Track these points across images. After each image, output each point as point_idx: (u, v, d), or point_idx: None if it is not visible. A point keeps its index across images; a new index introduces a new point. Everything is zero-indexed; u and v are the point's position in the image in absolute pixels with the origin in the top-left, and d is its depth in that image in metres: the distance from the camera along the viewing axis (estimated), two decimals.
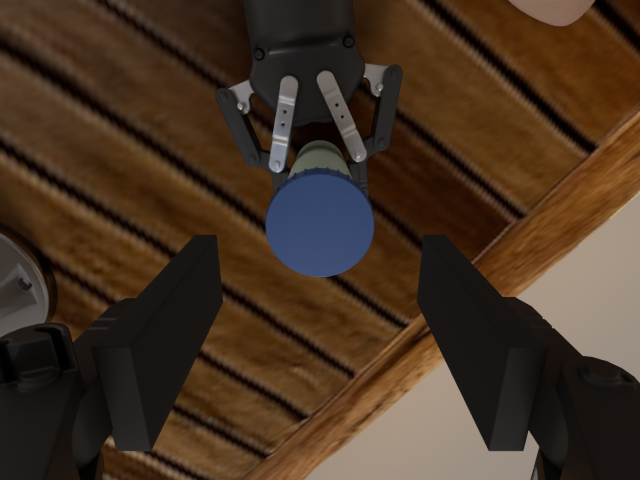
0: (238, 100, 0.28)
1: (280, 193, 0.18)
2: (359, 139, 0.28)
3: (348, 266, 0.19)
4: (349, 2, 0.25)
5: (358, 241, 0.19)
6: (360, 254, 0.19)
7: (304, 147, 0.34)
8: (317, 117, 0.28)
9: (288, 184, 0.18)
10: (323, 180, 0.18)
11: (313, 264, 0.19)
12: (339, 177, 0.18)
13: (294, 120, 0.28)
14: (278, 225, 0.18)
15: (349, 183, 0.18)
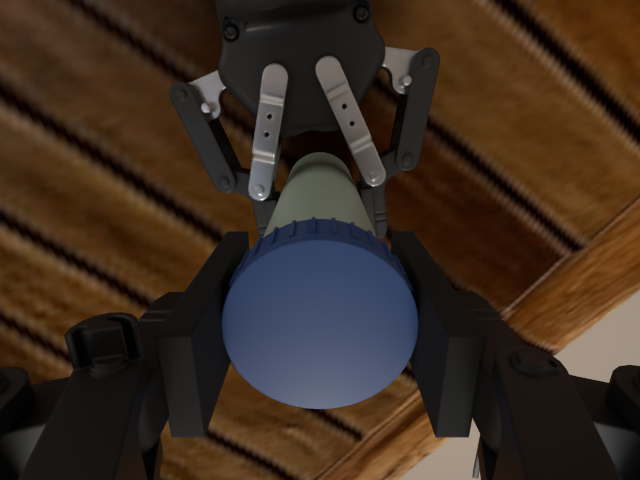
0: (203, 100, 0.20)
1: (246, 273, 0.10)
2: (376, 155, 0.20)
3: (370, 392, 0.11)
4: None
5: (389, 353, 0.10)
6: (392, 374, 0.11)
7: (299, 162, 0.26)
8: (316, 124, 0.19)
9: (260, 257, 0.09)
10: (326, 250, 0.09)
11: (308, 390, 0.11)
12: (356, 244, 0.09)
13: (283, 128, 0.20)
14: (244, 328, 0.10)
15: (375, 256, 0.09)
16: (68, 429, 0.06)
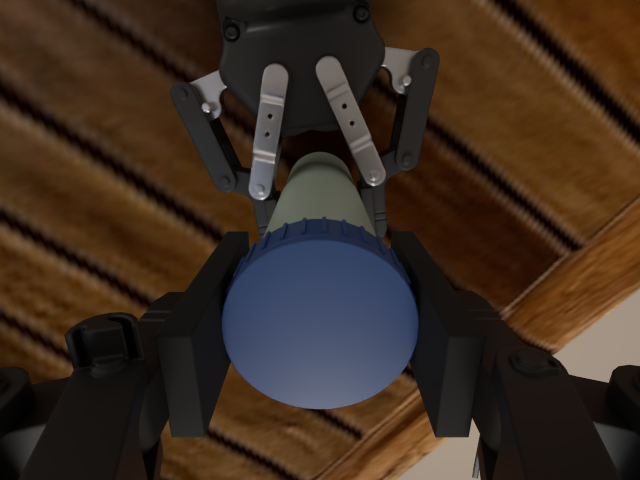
0: (204, 99, 0.20)
1: (259, 387, 0.11)
2: (375, 154, 0.20)
3: (401, 283, 0.10)
4: None
5: (348, 267, 0.09)
6: (376, 262, 0.09)
7: (299, 161, 0.26)
8: (316, 123, 0.20)
9: (243, 375, 0.11)
10: (232, 326, 0.10)
11: (391, 343, 0.10)
12: (226, 299, 0.10)
13: (284, 128, 0.20)
14: (315, 392, 0.11)
15: (234, 285, 0.10)
16: (68, 429, 0.06)
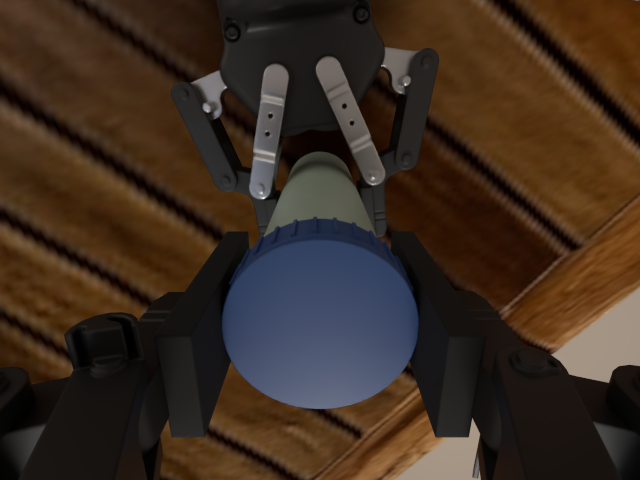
0: (205, 99, 0.20)
1: (385, 384, 0.11)
2: (375, 154, 0.20)
3: (263, 260, 0.09)
4: None
5: (247, 308, 0.10)
6: (241, 284, 0.10)
7: (299, 161, 0.26)
8: (316, 123, 0.20)
9: (370, 395, 0.11)
10: (313, 401, 0.11)
11: (334, 266, 0.09)
12: (288, 401, 0.11)
13: (284, 127, 0.20)
14: (395, 336, 0.10)
15: (271, 397, 0.11)
16: (68, 430, 0.06)
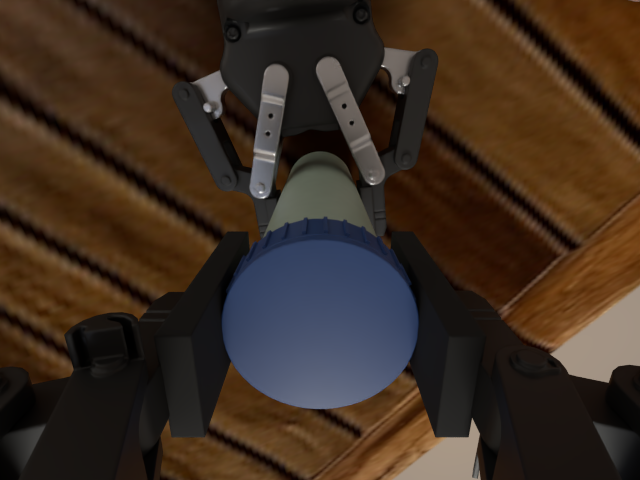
0: (206, 99, 0.20)
1: (390, 269, 0.09)
2: (375, 154, 0.20)
3: (246, 374, 0.11)
4: None
5: (294, 388, 0.11)
6: (270, 391, 0.11)
7: (299, 161, 0.26)
8: (316, 123, 0.20)
9: (405, 283, 0.10)
10: (407, 338, 0.10)
11: (247, 320, 0.10)
12: (407, 359, 0.10)
13: (284, 127, 0.20)
14: (326, 262, 0.09)
15: (397, 375, 0.11)
16: (69, 430, 0.06)
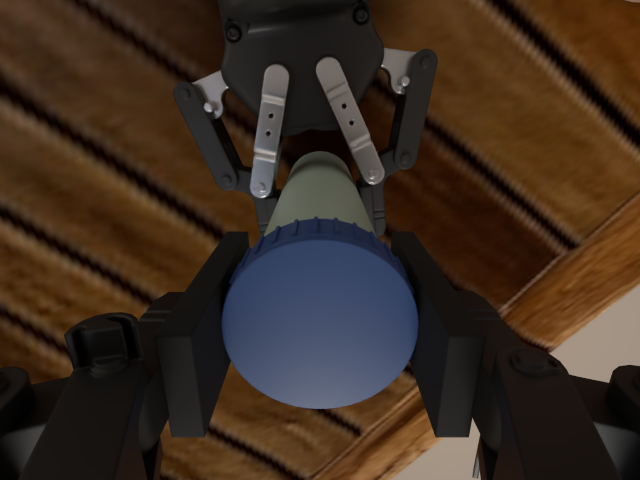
0: (206, 99, 0.20)
1: (247, 271, 0.09)
2: (374, 154, 0.20)
3: (368, 393, 0.11)
4: None
5: (388, 355, 0.10)
6: (390, 375, 0.11)
7: (299, 161, 0.26)
8: (316, 123, 0.20)
9: (262, 256, 0.09)
10: (329, 250, 0.09)
11: (306, 389, 0.11)
12: (359, 245, 0.09)
13: (284, 127, 0.20)
14: (244, 326, 0.10)
15: (377, 257, 0.09)
16: (68, 429, 0.06)
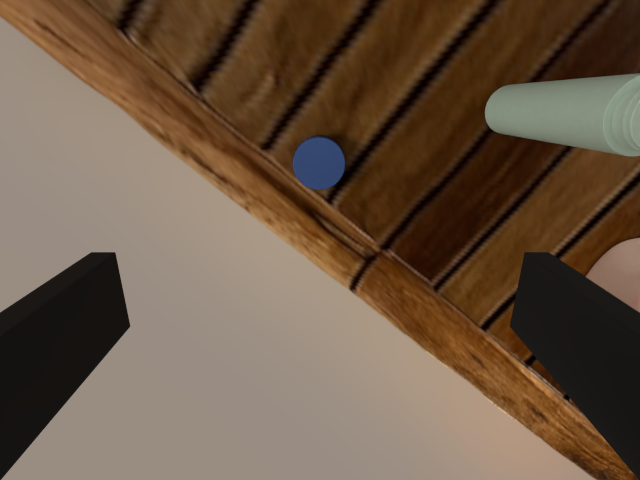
0: None
1: (300, 146, 0.38)
2: None
3: (332, 184, 0.39)
4: None
5: (337, 171, 0.39)
6: (338, 178, 0.39)
7: None
8: None
9: (304, 142, 0.38)
10: (321, 140, 0.38)
11: (315, 183, 0.39)
12: (328, 139, 0.38)
13: None
14: (299, 162, 0.38)
15: (333, 142, 0.38)
16: None
